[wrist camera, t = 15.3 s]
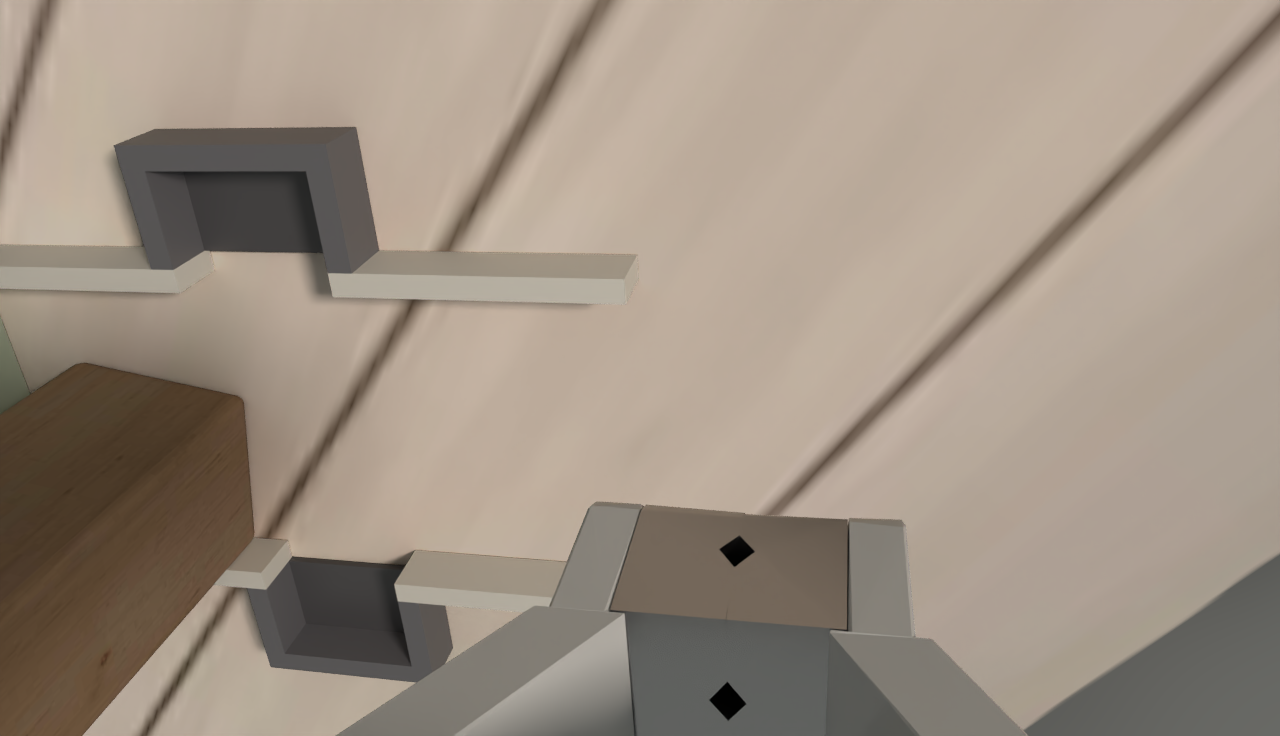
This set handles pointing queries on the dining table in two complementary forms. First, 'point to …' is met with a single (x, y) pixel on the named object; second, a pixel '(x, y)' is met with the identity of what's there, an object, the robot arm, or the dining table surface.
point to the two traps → (345, 233)
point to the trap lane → (378, 277)
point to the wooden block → (109, 534)
